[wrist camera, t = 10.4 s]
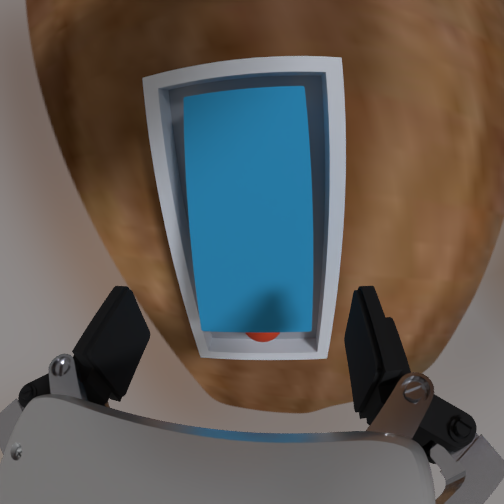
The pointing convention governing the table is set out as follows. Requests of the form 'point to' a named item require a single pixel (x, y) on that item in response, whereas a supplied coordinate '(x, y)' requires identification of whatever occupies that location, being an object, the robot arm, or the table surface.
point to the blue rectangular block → (250, 209)
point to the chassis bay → (322, 173)
